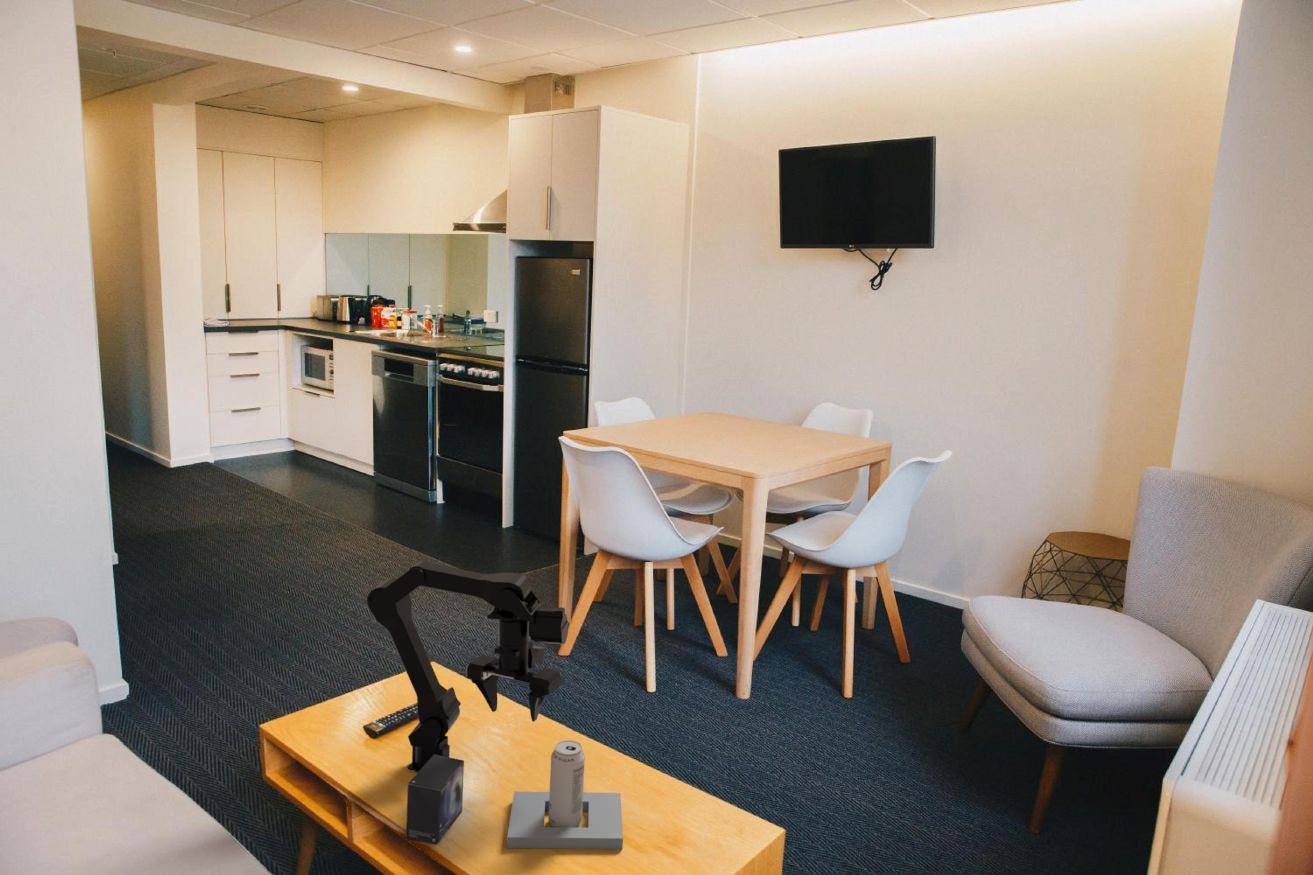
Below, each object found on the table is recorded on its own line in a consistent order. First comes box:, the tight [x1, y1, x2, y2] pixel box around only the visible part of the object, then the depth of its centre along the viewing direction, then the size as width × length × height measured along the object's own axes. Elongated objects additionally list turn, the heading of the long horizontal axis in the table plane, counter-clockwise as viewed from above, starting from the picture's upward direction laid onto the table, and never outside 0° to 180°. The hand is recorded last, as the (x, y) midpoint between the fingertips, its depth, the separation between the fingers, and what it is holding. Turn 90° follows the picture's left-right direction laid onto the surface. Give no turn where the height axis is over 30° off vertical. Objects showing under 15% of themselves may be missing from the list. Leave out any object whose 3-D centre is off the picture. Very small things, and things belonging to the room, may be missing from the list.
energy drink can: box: [548, 739, 586, 828], centre depth 157 cm, size 6×6×15 cm
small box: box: [405, 755, 465, 845], centre depth 155 cm, size 11×6×10 cm, turn 168°
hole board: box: [506, 790, 624, 850], centre depth 158 cm, size 20×14×2 cm
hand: (514, 715), depth 171 cm, fingers open, 9 cm apart
